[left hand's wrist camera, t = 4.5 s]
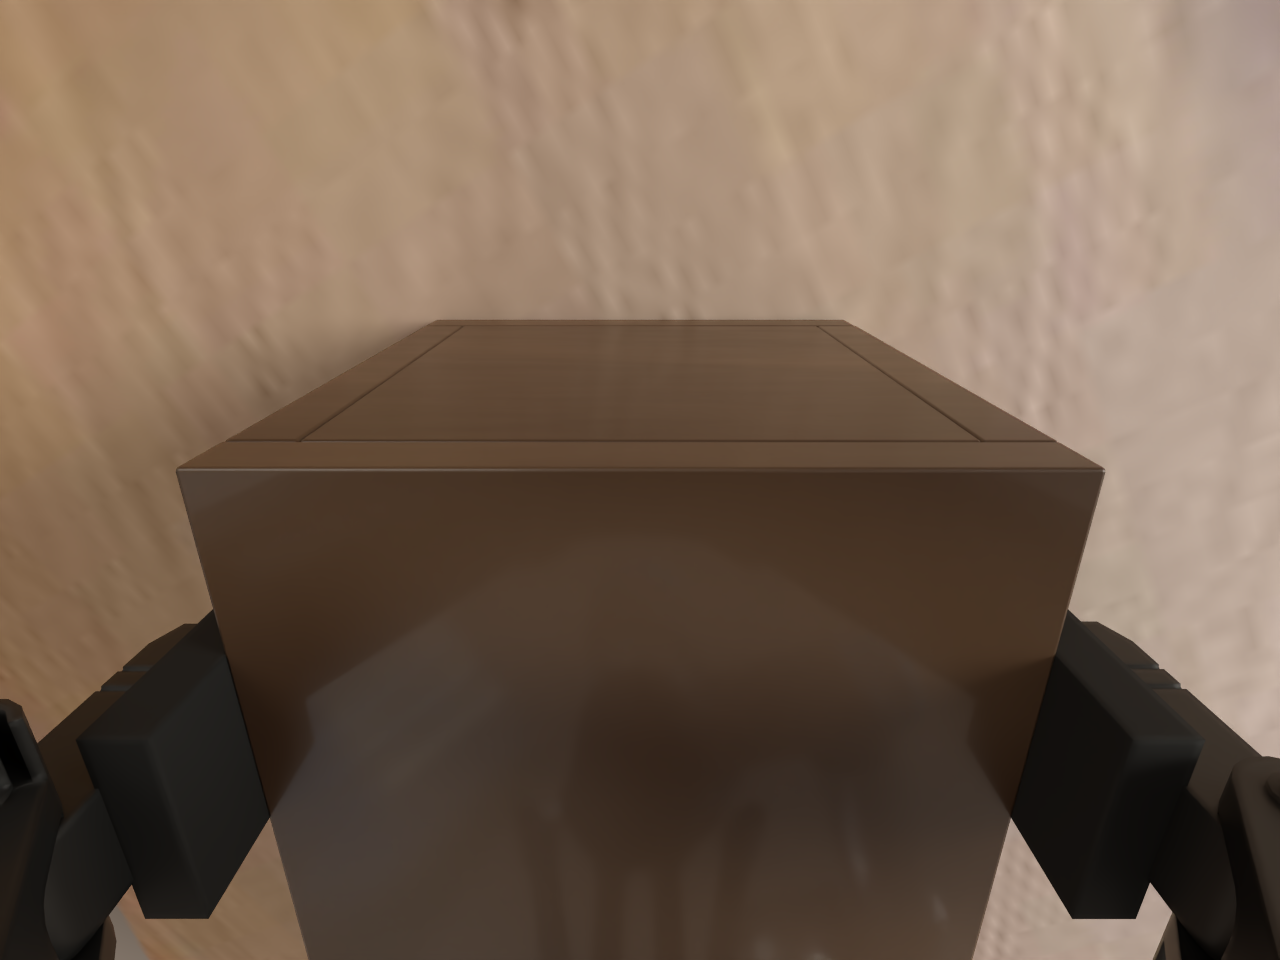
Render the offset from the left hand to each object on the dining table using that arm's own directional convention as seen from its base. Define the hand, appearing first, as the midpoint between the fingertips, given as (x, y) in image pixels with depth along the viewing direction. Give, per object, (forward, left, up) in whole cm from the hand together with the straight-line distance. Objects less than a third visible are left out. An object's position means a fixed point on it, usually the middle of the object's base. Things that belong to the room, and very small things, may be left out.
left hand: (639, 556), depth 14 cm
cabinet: (+7, 0, -5) cm, 9 cm away
